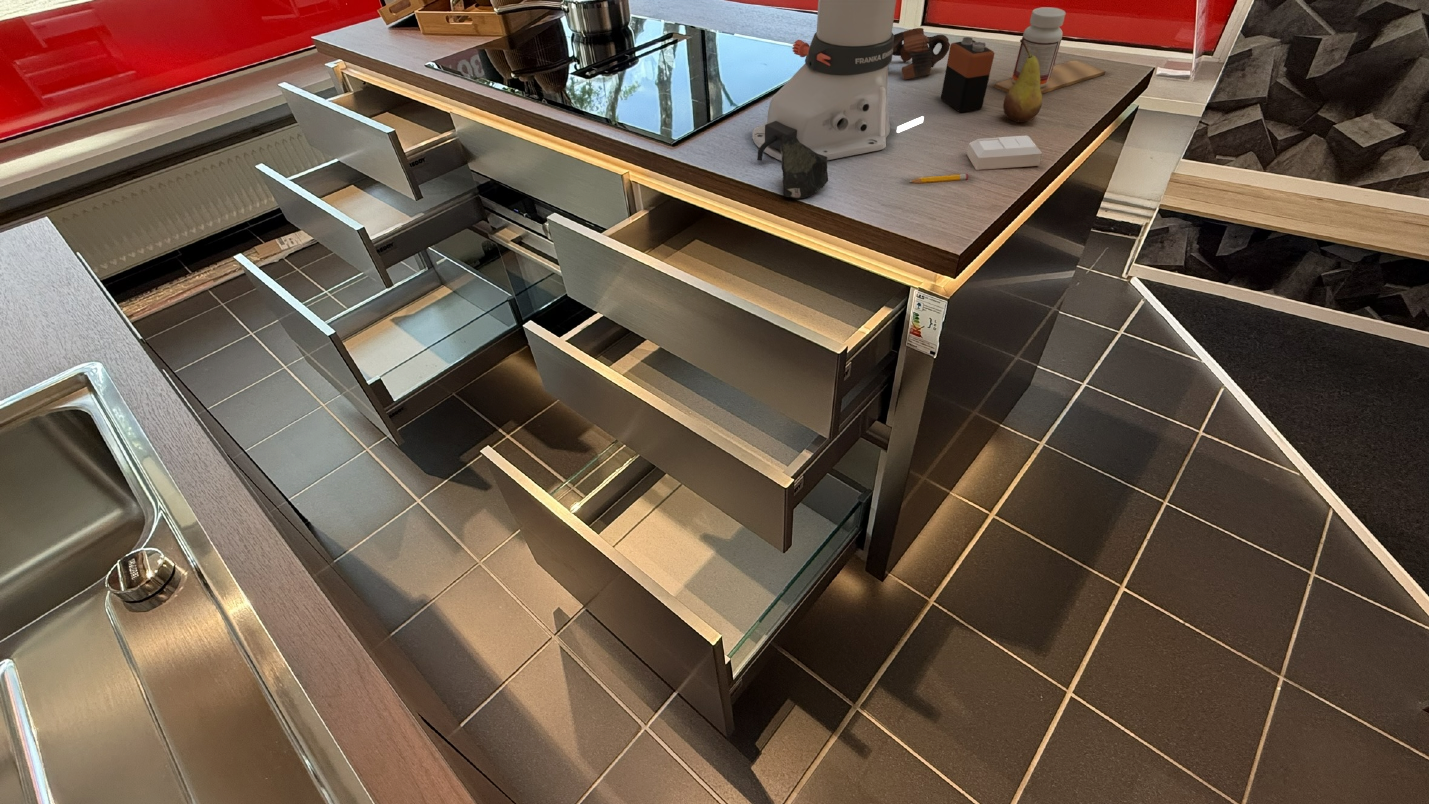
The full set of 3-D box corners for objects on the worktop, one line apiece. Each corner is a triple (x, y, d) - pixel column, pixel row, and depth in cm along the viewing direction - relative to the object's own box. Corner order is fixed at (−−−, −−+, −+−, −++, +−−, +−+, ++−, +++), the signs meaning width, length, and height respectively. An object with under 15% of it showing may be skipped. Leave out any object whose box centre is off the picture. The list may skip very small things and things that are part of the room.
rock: (831, 132, 95) (825, 150, 100) (781, 131, 95) (778, 150, 100) (831, 193, 93) (826, 209, 98) (781, 193, 94) (778, 208, 98)
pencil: (969, 176, 97) (967, 173, 97) (909, 181, 97) (908, 177, 97) (967, 180, 98) (966, 176, 98) (908, 185, 98) (907, 181, 98)
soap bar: (1038, 165, 99) (1043, 147, 97) (976, 169, 99) (979, 152, 97) (1027, 150, 102) (1032, 133, 101) (966, 154, 103) (970, 137, 101)
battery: (959, 113, 113) (973, 49, 106) (939, 99, 118) (950, 36, 111) (983, 109, 114) (997, 45, 107) (961, 95, 119) (974, 33, 112)
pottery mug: (888, 85, 125) (880, 36, 123) (885, 91, 134) (877, 46, 131) (956, 65, 122) (949, 15, 120) (948, 72, 131) (942, 26, 129)
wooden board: (1023, 99, 116) (1024, 95, 116) (993, 87, 121) (994, 83, 120) (1104, 74, 123) (1106, 70, 122) (1073, 63, 127) (1074, 59, 127)
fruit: (1022, 130, 108) (1045, 49, 99) (992, 119, 111) (1012, 39, 103) (1044, 120, 110) (1068, 40, 102) (1014, 110, 113) (1035, 31, 105)
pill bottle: (1024, 74, 123) (1042, 3, 115) (1055, 82, 119) (1076, 11, 111) (1004, 83, 120) (1021, 12, 112) (1035, 92, 117) (1055, 19, 109)
